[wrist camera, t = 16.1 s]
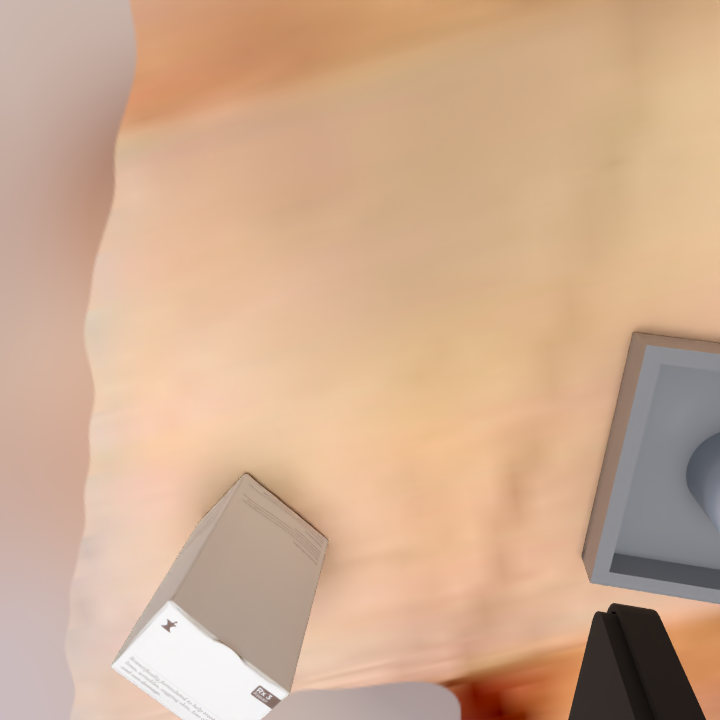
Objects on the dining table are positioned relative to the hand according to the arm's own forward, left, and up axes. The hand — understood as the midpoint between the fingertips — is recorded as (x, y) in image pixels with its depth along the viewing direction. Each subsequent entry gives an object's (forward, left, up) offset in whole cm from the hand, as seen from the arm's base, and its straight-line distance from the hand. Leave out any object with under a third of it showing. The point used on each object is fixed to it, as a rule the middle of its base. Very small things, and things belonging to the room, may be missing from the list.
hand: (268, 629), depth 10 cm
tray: (+10, +22, -33) cm, 41 cm away
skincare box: (+20, -8, -34) cm, 40 cm away
